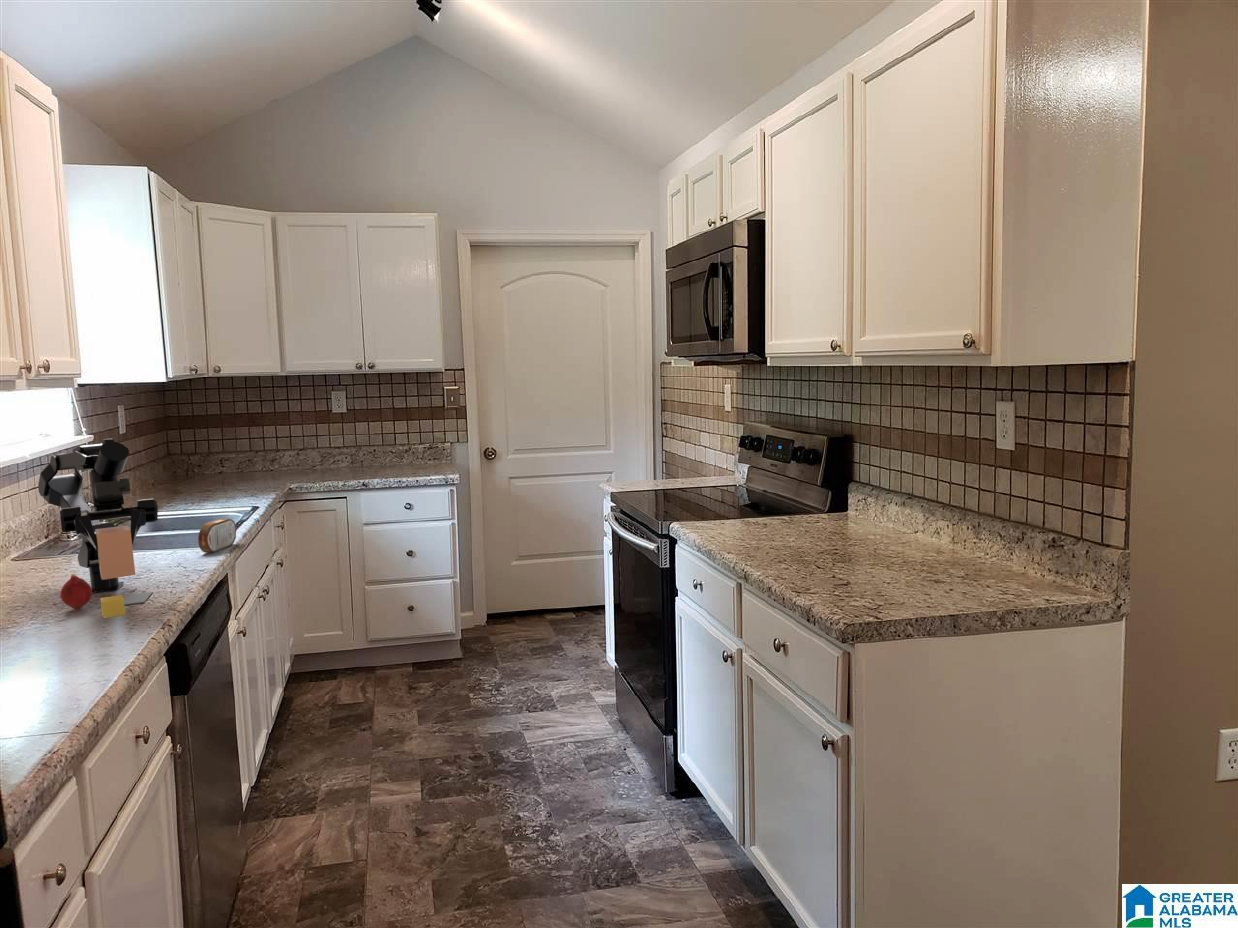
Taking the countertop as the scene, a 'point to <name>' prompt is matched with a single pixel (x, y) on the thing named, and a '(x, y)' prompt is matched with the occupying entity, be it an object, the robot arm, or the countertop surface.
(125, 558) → the tan rectangular block
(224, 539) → the tin
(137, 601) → the mat
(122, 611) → the block
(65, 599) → the onion
